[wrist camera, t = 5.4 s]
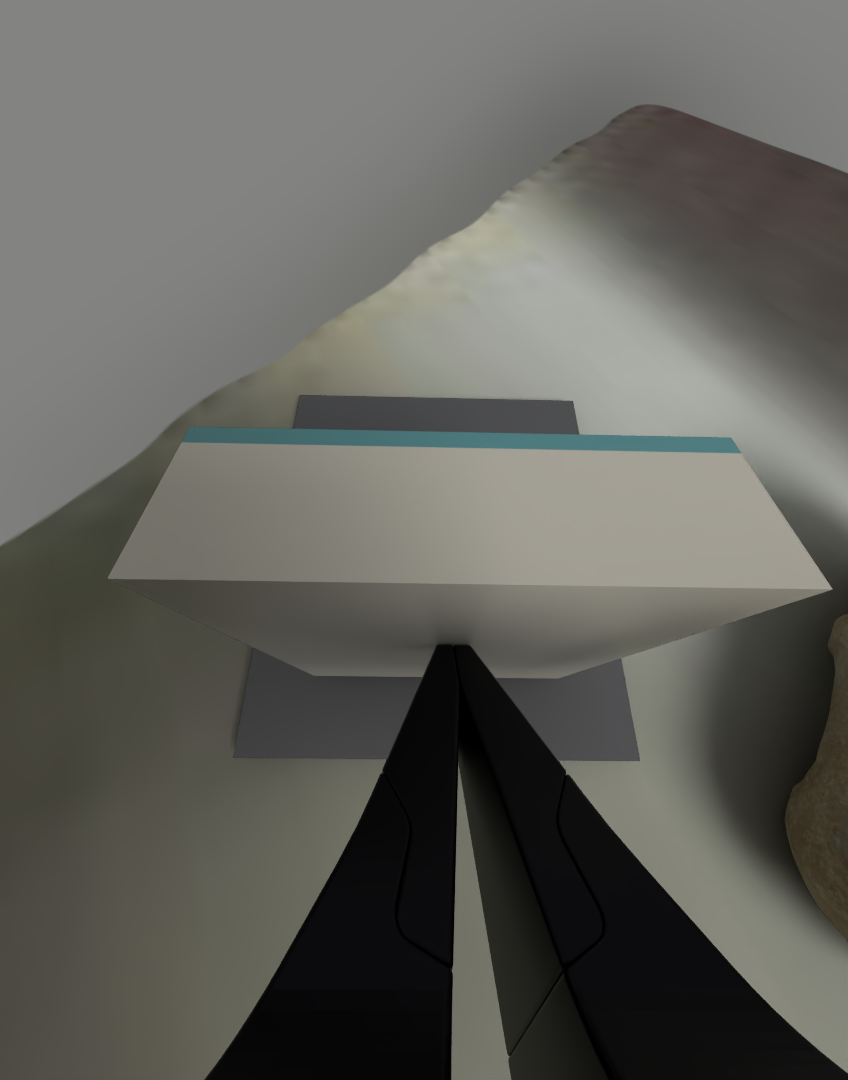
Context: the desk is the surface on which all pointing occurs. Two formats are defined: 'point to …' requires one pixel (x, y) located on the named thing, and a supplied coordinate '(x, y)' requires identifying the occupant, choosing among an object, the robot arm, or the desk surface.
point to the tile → (461, 546)
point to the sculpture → (826, 801)
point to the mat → (382, 702)
